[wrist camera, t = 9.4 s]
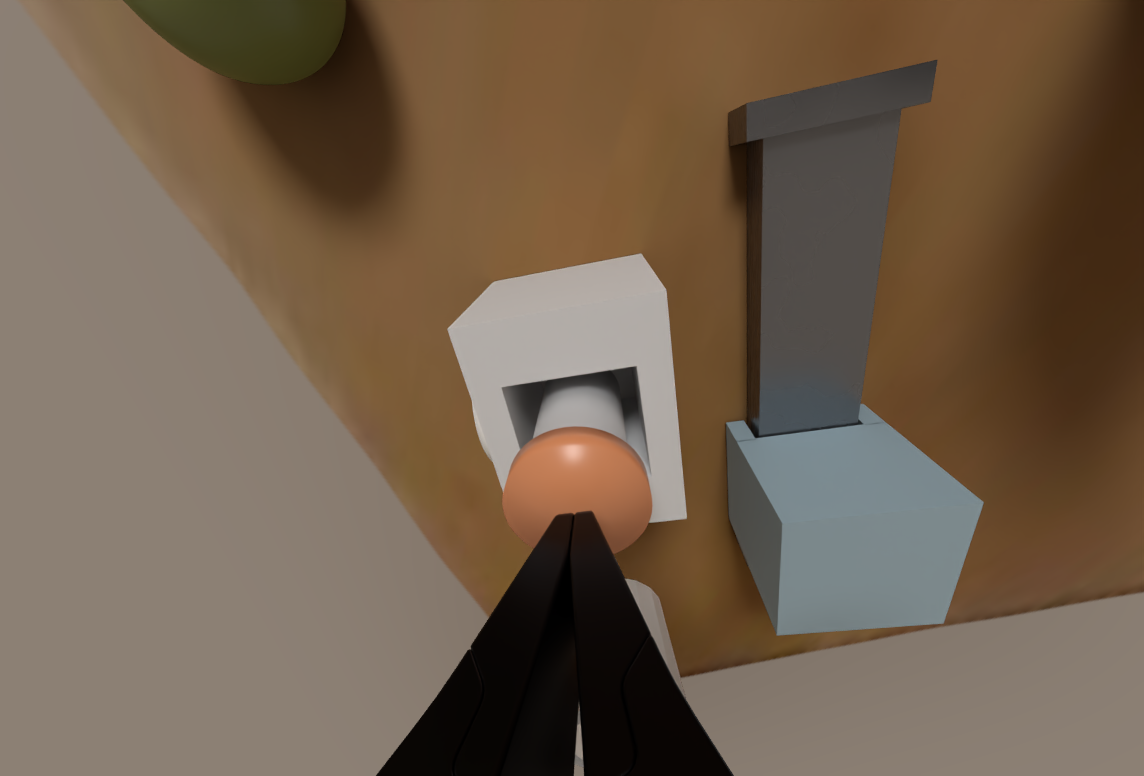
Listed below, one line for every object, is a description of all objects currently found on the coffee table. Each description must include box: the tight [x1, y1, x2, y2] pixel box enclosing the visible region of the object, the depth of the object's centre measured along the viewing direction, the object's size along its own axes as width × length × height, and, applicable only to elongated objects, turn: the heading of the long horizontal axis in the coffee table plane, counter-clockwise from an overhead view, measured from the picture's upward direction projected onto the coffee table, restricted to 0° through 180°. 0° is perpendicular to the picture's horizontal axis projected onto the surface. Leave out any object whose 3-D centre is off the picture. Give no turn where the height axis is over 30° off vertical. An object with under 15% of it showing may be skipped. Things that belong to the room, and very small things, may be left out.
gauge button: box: [502, 370, 653, 554], centre depth 12 cm, size 4×4×6 cm
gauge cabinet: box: [448, 254, 687, 523], centre depth 15 cm, size 6×8×6 cm
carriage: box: [726, 404, 984, 635], centre depth 17 cm, size 6×6×6 cm
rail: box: [728, 60, 937, 566], centre depth 17 cm, size 5×20×2 cm, turn 11°
